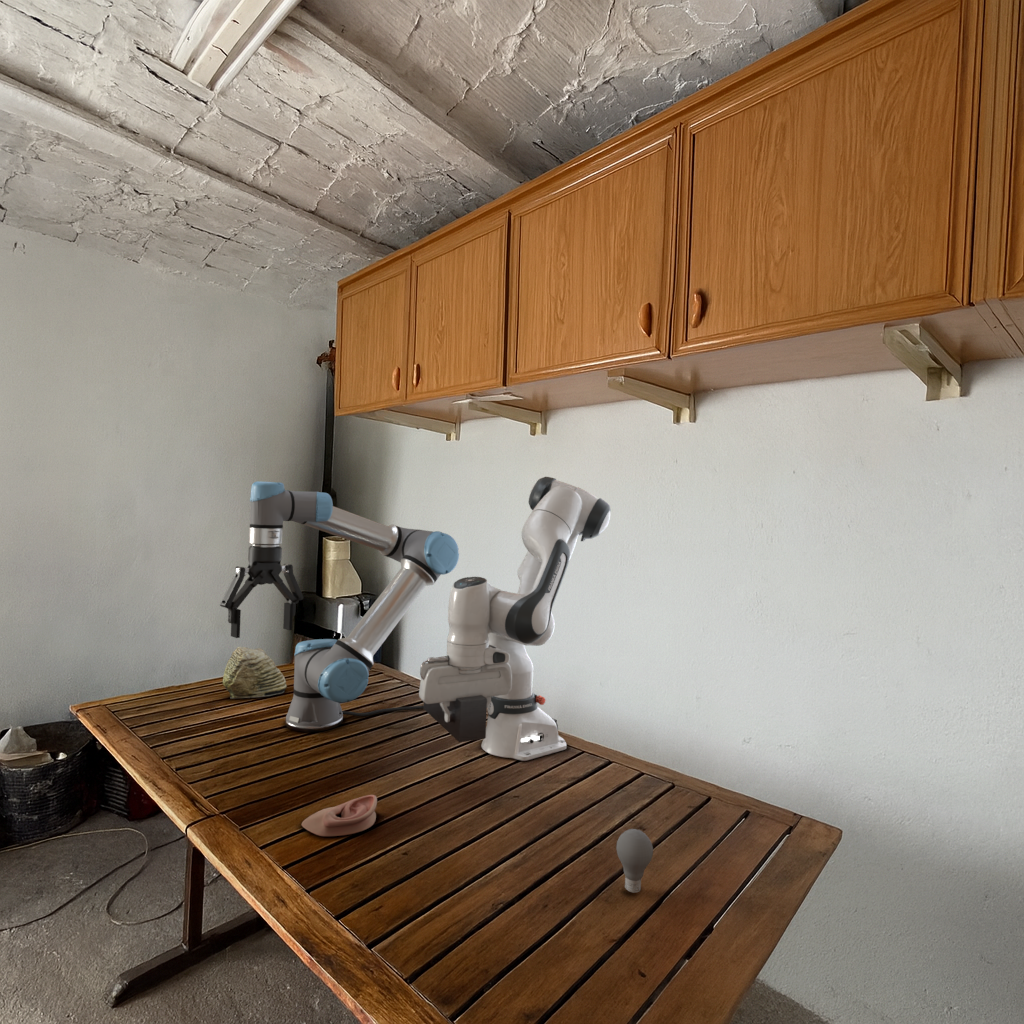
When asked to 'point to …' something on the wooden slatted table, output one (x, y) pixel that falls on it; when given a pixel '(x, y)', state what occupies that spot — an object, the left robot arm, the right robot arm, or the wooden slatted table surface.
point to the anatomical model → (343, 817)
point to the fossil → (252, 674)
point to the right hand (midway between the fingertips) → (465, 718)
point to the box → (462, 717)
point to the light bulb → (634, 857)
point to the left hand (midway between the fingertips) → (262, 633)
